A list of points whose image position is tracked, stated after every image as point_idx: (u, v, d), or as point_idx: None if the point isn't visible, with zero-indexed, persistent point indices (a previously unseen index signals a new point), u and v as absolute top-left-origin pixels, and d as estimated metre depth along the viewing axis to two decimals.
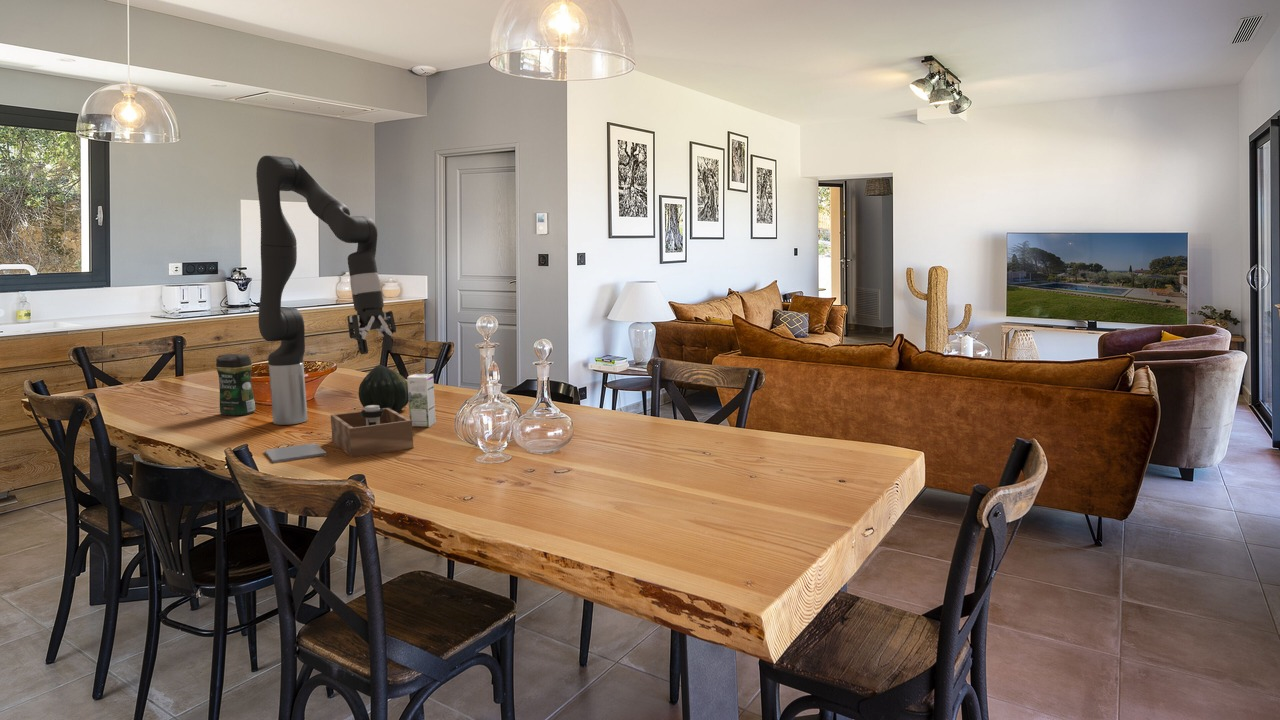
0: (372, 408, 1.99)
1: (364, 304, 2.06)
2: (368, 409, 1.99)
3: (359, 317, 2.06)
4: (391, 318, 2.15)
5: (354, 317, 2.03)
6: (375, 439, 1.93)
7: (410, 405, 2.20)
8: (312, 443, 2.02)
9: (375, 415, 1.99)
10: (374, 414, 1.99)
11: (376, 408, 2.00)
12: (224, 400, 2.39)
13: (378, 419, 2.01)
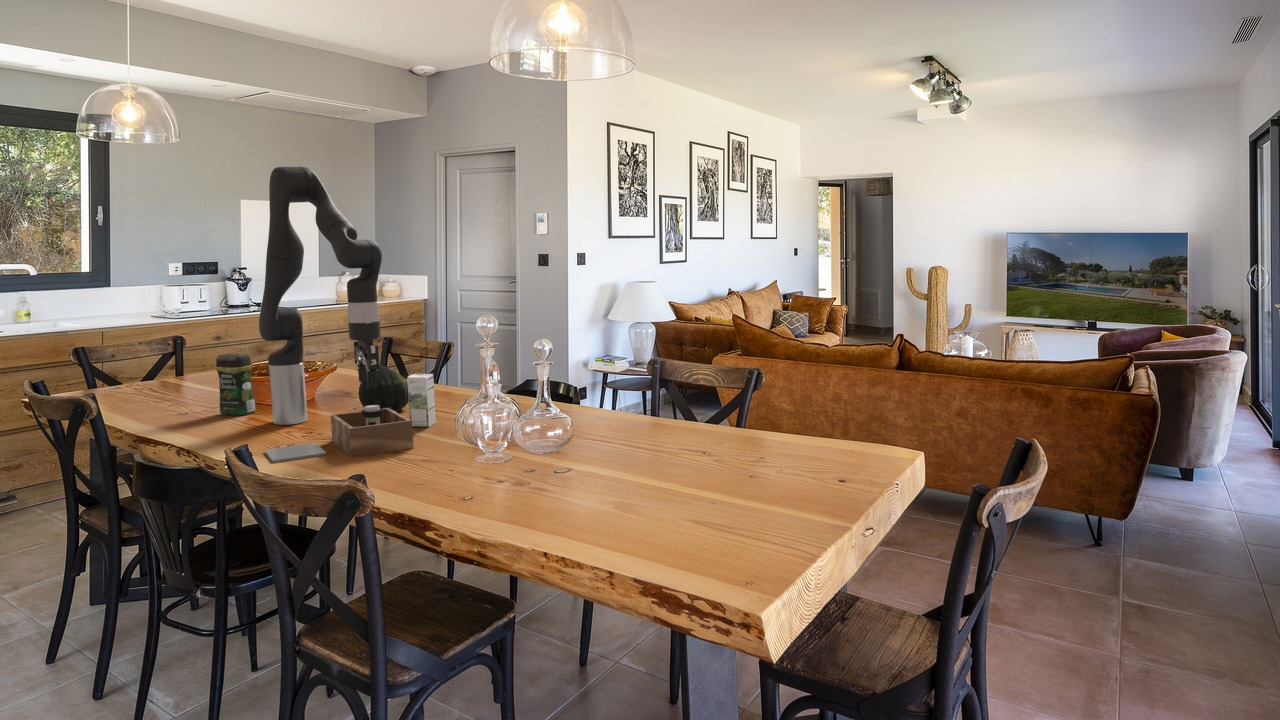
0: (372, 408, 1.99)
1: (375, 334, 1.97)
2: (368, 409, 1.99)
3: None
4: None
5: (377, 347, 1.94)
6: (375, 439, 1.93)
7: (410, 405, 2.20)
8: (312, 443, 2.02)
9: (375, 415, 1.99)
10: (374, 414, 1.99)
11: (376, 408, 2.00)
12: (224, 400, 2.39)
13: (378, 419, 2.01)
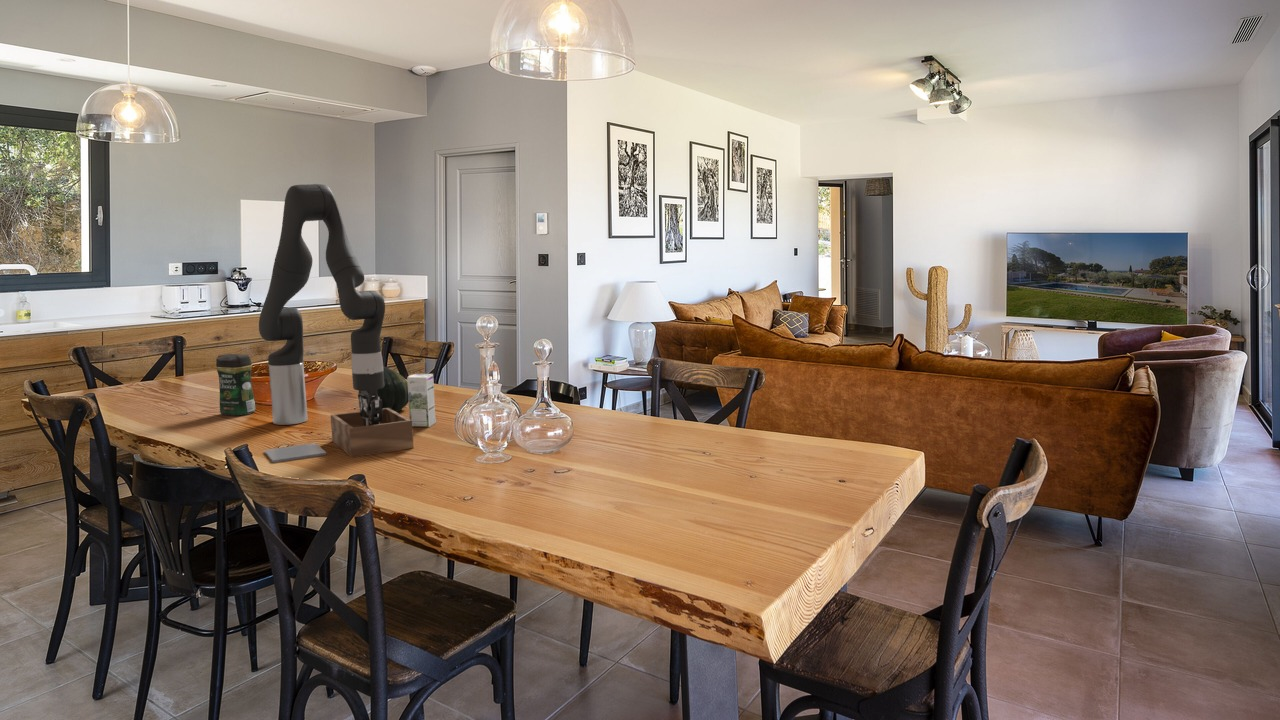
0: None
1: (379, 384, 1.98)
2: None
3: None
4: None
5: (381, 402, 1.96)
6: (375, 439, 1.93)
7: (410, 405, 2.20)
8: (312, 443, 2.02)
9: (375, 415, 1.99)
10: None
11: None
12: (224, 400, 2.39)
13: None
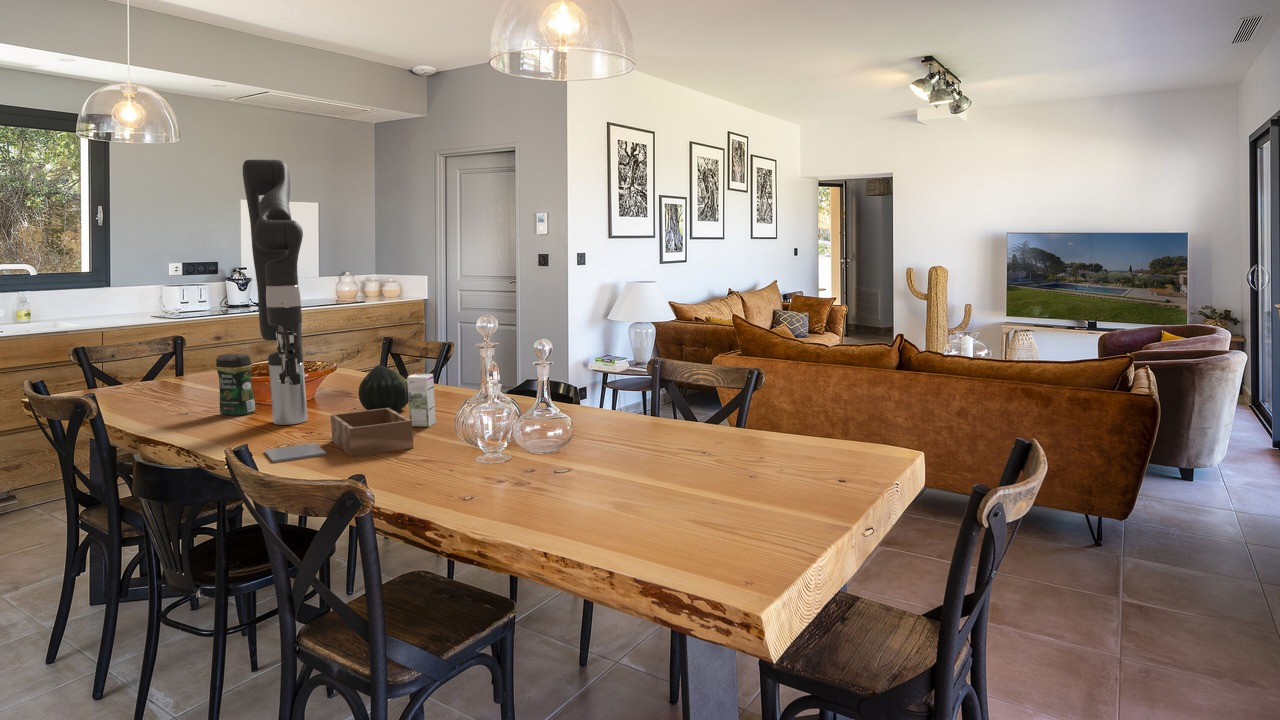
0: None
1: (295, 319, 1.88)
2: None
3: None
4: None
5: (296, 338, 1.85)
6: (375, 439, 1.93)
7: (410, 405, 2.20)
8: (312, 443, 2.02)
9: (291, 352, 1.89)
10: (290, 351, 1.89)
11: None
12: (224, 400, 2.39)
13: None
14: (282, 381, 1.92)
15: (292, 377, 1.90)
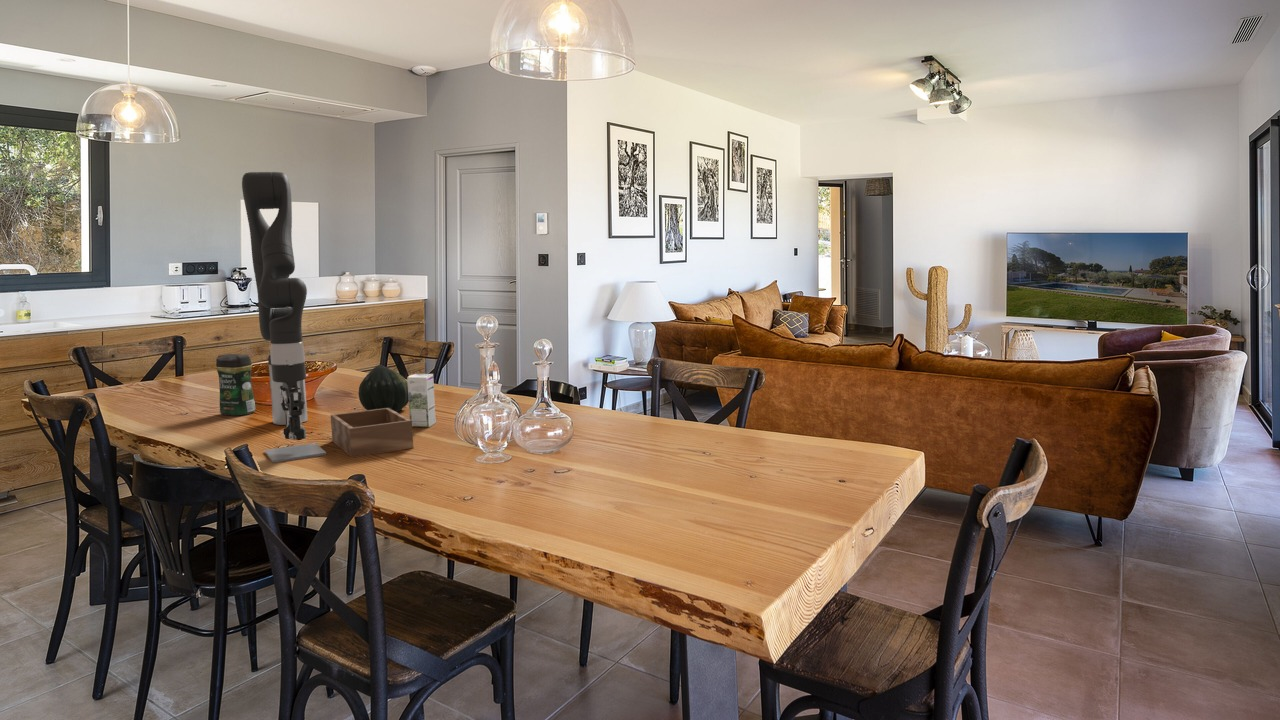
0: None
1: (299, 376, 1.90)
2: None
3: None
4: None
5: (300, 395, 1.87)
6: (375, 439, 1.93)
7: (410, 405, 2.20)
8: (312, 443, 2.02)
9: (295, 408, 1.91)
10: (294, 407, 1.91)
11: None
12: (224, 400, 2.39)
13: None
14: (286, 436, 1.93)
15: (296, 432, 1.92)
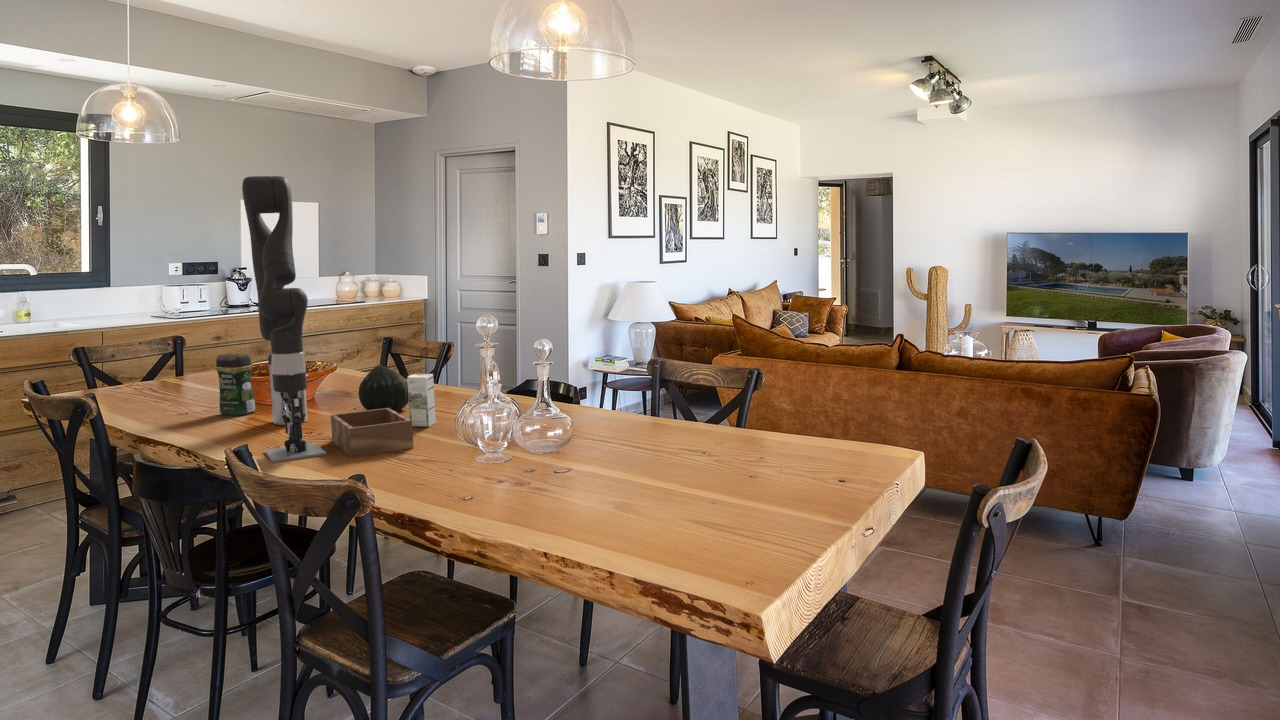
0: None
1: (300, 385, 1.90)
2: None
3: None
4: None
5: (301, 400, 1.87)
6: (375, 439, 1.93)
7: (410, 405, 2.20)
8: (312, 443, 2.02)
9: None
10: None
11: None
12: (224, 400, 2.39)
13: None
14: (287, 448, 1.94)
15: (297, 445, 1.93)
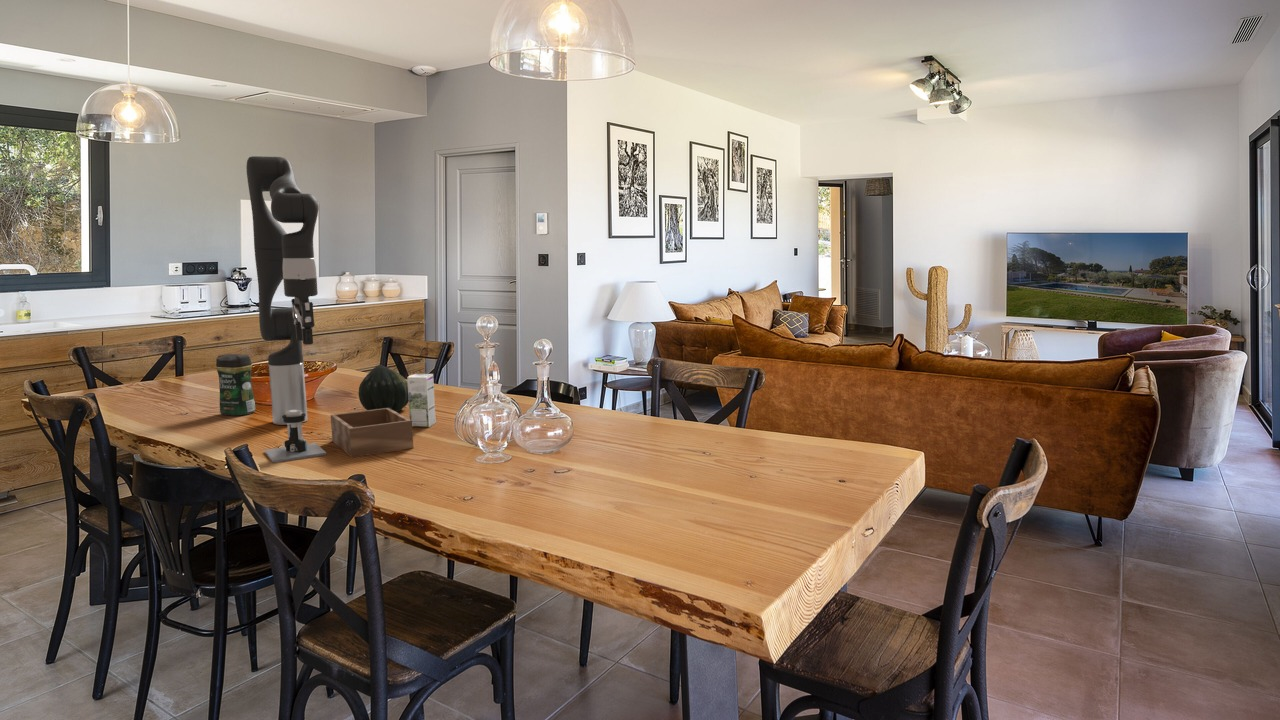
0: (293, 413, 1.91)
1: (311, 291, 1.92)
2: (289, 414, 1.91)
3: None
4: None
5: (312, 305, 1.89)
6: (375, 439, 1.93)
7: (410, 405, 2.20)
8: (312, 443, 2.02)
9: (296, 420, 1.91)
10: (295, 419, 1.91)
11: (297, 413, 1.92)
12: (224, 400, 2.39)
13: (300, 424, 1.93)
14: (287, 448, 1.94)
15: (297, 445, 1.93)
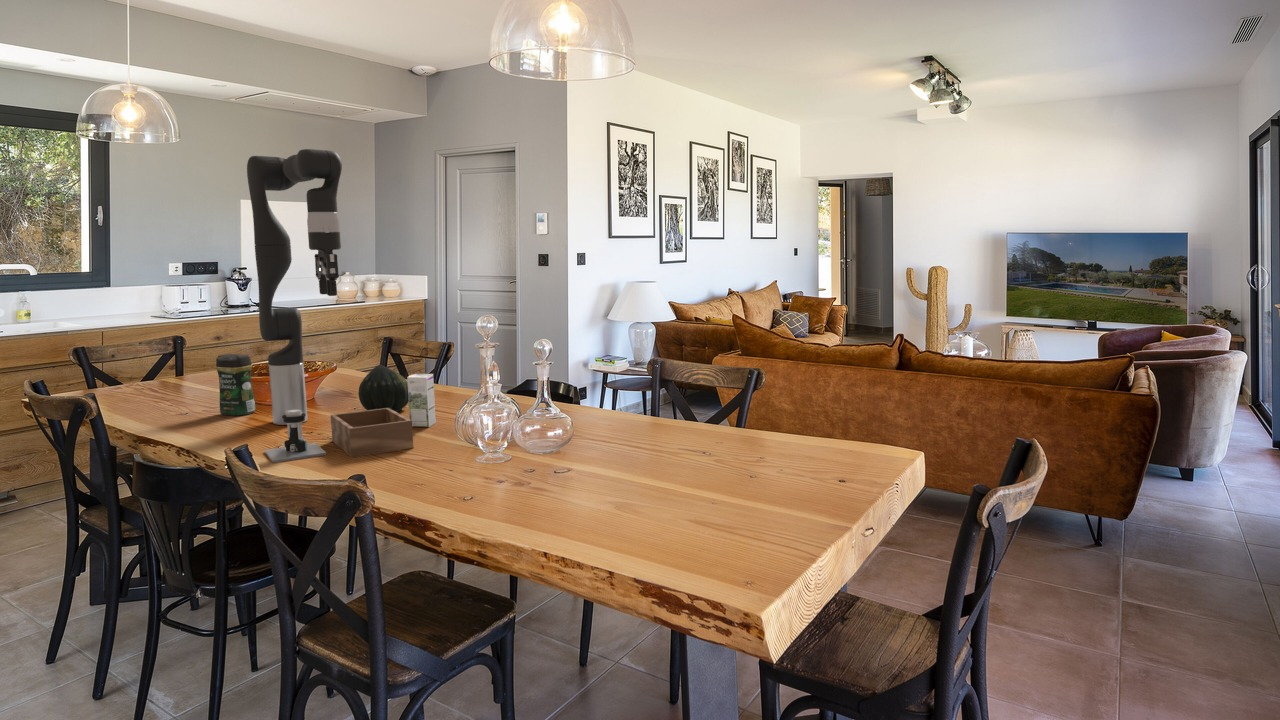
0: (293, 413, 1.91)
1: (335, 244, 1.98)
2: (289, 414, 1.91)
3: None
4: None
5: (336, 256, 1.96)
6: (375, 439, 1.93)
7: (410, 405, 2.20)
8: (312, 443, 2.02)
9: (296, 420, 1.91)
10: (295, 419, 1.91)
11: (297, 413, 1.92)
12: (224, 400, 2.39)
13: (300, 424, 1.93)
14: (287, 448, 1.94)
15: (297, 445, 1.93)
